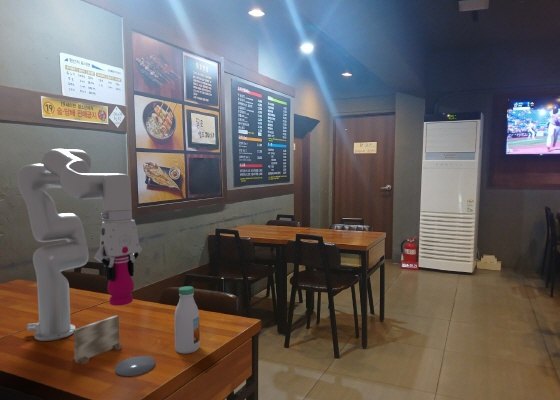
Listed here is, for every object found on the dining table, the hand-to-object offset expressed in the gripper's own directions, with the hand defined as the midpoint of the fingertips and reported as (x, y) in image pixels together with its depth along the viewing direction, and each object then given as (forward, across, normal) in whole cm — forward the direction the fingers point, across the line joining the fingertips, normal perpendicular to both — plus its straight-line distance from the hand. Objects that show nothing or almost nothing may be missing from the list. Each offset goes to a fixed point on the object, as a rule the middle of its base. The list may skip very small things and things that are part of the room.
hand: (120, 277), depth 113 cm
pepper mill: (+8, 0, 0) cm, 8 cm away
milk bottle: (+26, +17, -8) cm, 33 cm away
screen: (+26, -1, +12) cm, 29 cm away
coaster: (+26, +1, -5) cm, 26 cm away
